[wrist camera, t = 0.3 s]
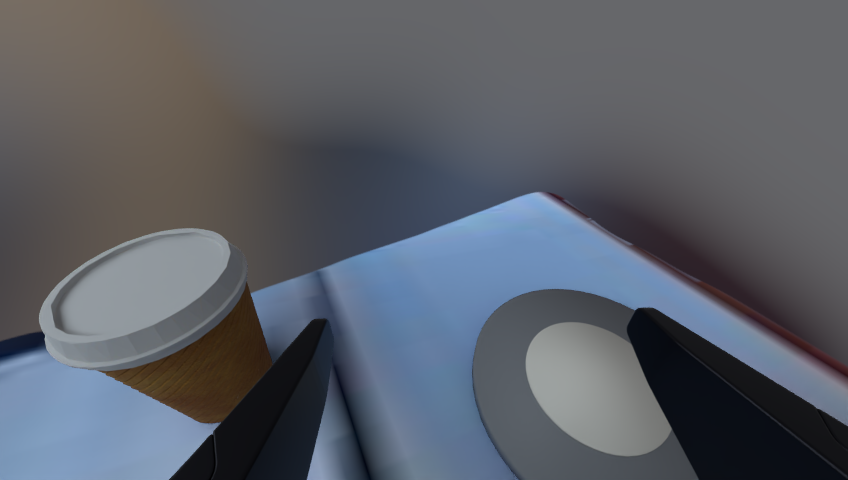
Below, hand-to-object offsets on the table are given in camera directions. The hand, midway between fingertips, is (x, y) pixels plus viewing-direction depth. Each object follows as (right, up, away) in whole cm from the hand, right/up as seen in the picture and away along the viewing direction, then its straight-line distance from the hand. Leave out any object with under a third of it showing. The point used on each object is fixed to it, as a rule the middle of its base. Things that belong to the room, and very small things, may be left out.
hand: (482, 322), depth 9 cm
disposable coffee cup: (-17, -9, +16) cm, 25 cm away
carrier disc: (+11, -9, +15) cm, 21 cm away
